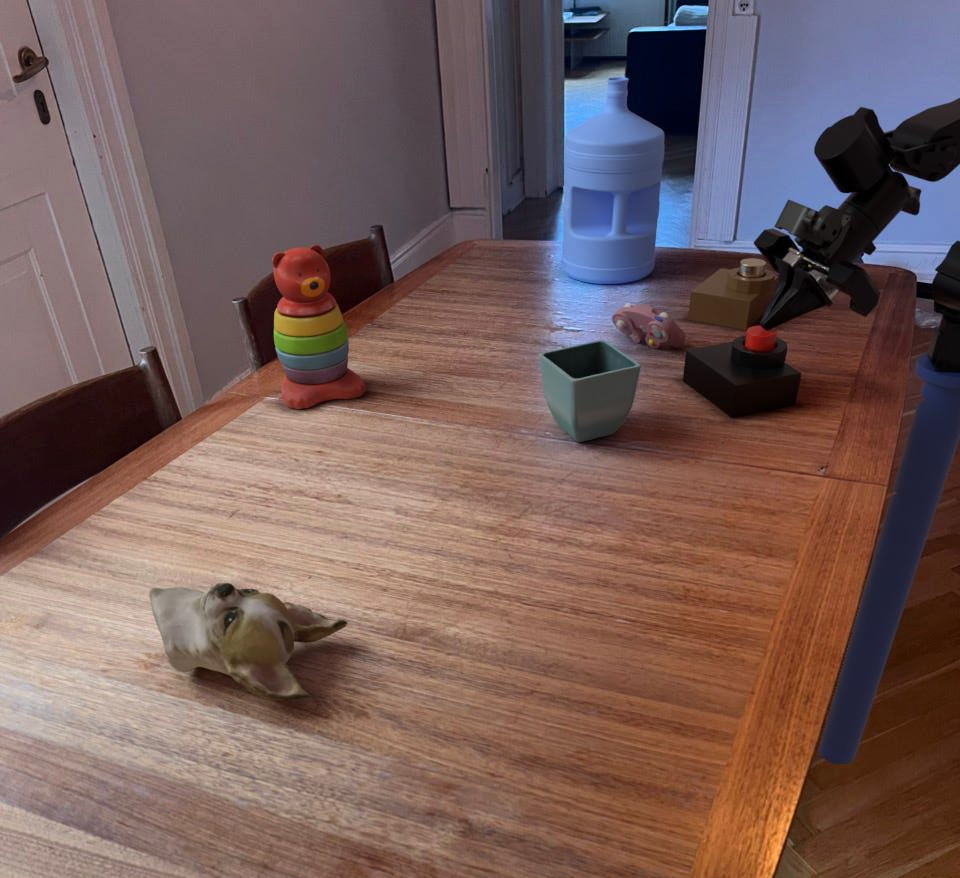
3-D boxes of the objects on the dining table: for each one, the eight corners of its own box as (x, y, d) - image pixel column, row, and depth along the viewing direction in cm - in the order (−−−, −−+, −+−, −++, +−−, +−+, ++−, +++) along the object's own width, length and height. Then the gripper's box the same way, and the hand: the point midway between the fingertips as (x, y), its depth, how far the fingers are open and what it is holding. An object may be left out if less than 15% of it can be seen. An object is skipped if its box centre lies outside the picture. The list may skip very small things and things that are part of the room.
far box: (779, 305, 140) (786, 265, 136) (752, 331, 132) (759, 289, 128) (717, 295, 144) (722, 256, 140) (687, 320, 136) (692, 278, 133)
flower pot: (570, 454, 105) (573, 380, 99) (536, 424, 111) (537, 352, 105) (637, 438, 107) (643, 364, 102) (600, 409, 114) (603, 338, 108)
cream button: (767, 274, 134) (769, 260, 133) (758, 281, 132) (761, 267, 131) (743, 271, 136) (745, 256, 134) (734, 278, 133) (736, 263, 132)
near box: (748, 368, 122) (755, 323, 118) (802, 404, 113) (811, 357, 109) (682, 380, 120) (687, 335, 116) (731, 418, 111) (738, 370, 107)
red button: (763, 339, 115) (766, 323, 114) (780, 350, 112) (783, 333, 111) (738, 344, 114) (741, 328, 113) (754, 354, 111) (757, 338, 110)
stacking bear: (289, 412, 116) (264, 267, 105) (270, 383, 123) (244, 245, 112) (370, 395, 119) (354, 253, 108) (346, 368, 126) (329, 232, 115)
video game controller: (614, 348, 133) (603, 310, 127) (632, 325, 134) (622, 288, 128) (672, 364, 127) (663, 327, 122) (690, 341, 128) (682, 303, 123)
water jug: (553, 259, 161) (557, 74, 143) (641, 254, 162) (655, 68, 144) (570, 288, 149) (576, 89, 131) (664, 282, 150) (683, 84, 132)
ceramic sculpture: (176, 536, 77) (345, 563, 75) (194, 616, 83) (352, 643, 80) (110, 613, 69) (297, 645, 67) (135, 695, 75) (308, 728, 73)
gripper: (780, 156, 109) (688, 264, 114) (883, 191, 96) (774, 312, 100) (822, 218, 116) (734, 317, 120) (924, 259, 102) (820, 370, 107)
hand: (762, 327), depth 112 cm, fingers closed
